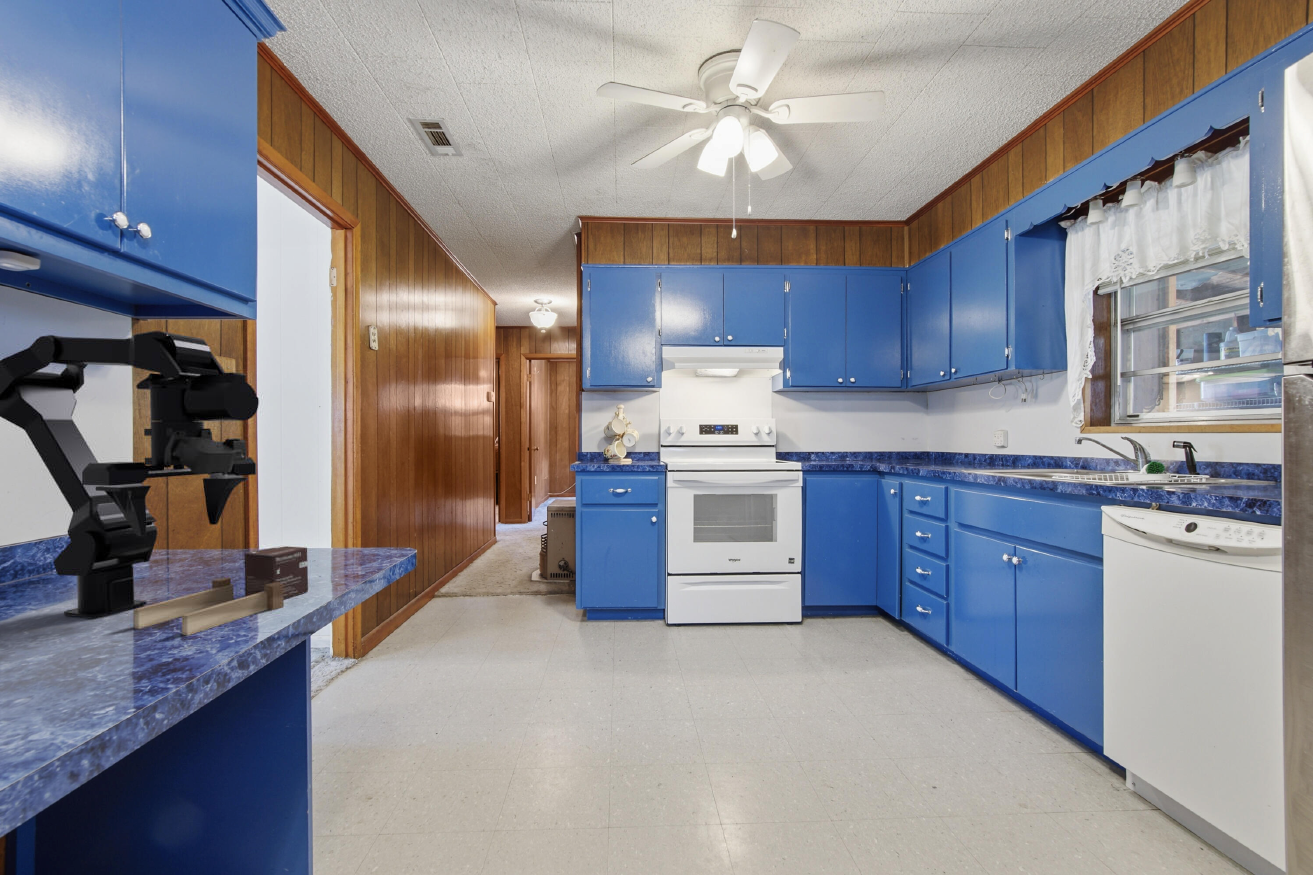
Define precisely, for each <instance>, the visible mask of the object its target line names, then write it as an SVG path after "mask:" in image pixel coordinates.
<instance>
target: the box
mask: <svg viewBox="0 0 1313 875" xmlns="http://www.w3.org/2000/svg"><path fill="white" fill-rule="evenodd" d="M308 569H309V568H308V547H306V546H305V547H304V546H302V547H301V546H285V545H283V546H275V547H271V548H263V549H260V550H255V551H249V552H246V553H244V593H245V594H244V597H246V596H250V595H253V594H257V593H260V592H263V591H265V585H267V584H271V583H275V582H276V583H283V599H284V600H287V599H289V598H293V597H295V596H299V595H302V594H306V593H308V592H309V576H308V575H309V574H308V573H309V571H308Z"/></svg>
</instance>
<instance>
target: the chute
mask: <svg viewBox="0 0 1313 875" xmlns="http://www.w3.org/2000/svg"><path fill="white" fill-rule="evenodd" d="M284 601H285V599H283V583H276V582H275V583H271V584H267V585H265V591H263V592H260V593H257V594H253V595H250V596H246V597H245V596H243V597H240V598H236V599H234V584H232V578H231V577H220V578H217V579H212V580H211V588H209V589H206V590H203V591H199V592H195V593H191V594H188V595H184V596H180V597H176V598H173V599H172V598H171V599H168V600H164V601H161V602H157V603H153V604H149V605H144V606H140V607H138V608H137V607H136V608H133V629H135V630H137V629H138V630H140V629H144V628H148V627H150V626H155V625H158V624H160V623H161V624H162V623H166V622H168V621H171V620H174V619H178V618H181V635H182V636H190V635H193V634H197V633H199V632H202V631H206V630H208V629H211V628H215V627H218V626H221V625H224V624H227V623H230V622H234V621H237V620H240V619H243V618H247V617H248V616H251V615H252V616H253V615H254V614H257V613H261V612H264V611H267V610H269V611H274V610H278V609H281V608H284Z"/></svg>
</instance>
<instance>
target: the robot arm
mask: <svg viewBox="0 0 1313 875" xmlns="http://www.w3.org/2000/svg"><path fill="white" fill-rule="evenodd" d="M50 364H57V365H58V364H60V365H66V367H65V368H64V369H63V370H62V372H61V373H55V372H48V371H47V372H46V371H40V370H43V369H45V368H47V367H49V365H50ZM89 365H91V366H92V365H94V366H95V365H96V366H99V365H100V366H120V367H123V366H124V367H133V368H136V369H140V370H144V371H148V372H151V373H149V375H148V376H147V377H146V378H144V379H143V380H141V381H139V382H138V383H137V384H136V386H135V387H136V389H137V390H146V391H149V393H150V396H149V397H150V400H149V401H150V402H149V403H150V407H149V408H150V428H144V429H143V430H144V431H143V432H144V433H143V434H144V435H143V436H144V437H145V436H146V437H150V457H144V462H143V461H114V462H109V461H108V462H98V460H97V458H96V456H95V455H94V452H93V451H92V450H91V448H90V446H89V445H88V443H87V441H86V440H85V438H84V436H83V435H82V433H81V432H80V430H79V428H78V427H77V425H76V423H75V422H74V420H73V414H74V411H75V409H76V406H77V401H78V400H77V398H76V396H75V394H76V393H77V392H78V391H79V390H80V389H81V388H82V387H83V386H84V384H85V371H84V370H85V369H86V367H88V366H89ZM246 377H247V376H246V374H245V373H239V372H226V371H225V370H224V368H223V367H222V366H221V364H220V362H218V360H217V358H216V357H215V355H214V354H213V353H212V351H211V348H210V347H209V344H208V343H207V341H206V340H205V339H202V338H198V337H193V336H188V335H182V334H176V333H172V332H166V331H159V330H153V331H152V330H151V331H145V332H140V333H135V334H133V335H132V336H131V337H128V338H111V337H110V338H106V337H78V336H77V337H71V336H70V337H69V336H62V335H61V336H59V335H53V334H50V335H49V334H48V335H43V336H39V337H38V338H37V339H36V340H34V342H33V343H32V344H30V346H29V347H27V348H25V349H22V350H21V351H18V352H16V353H14V354H11V355H9V356H7V357H4V358H2V359H1V360H0V418H2V419H3V420H4V421H8V422H9V423H11V424H13V425H15V426H16V427H18V428H20V429H22V430H24V431H25V432H24V433H26V435H27V436H28V438H29V440H30V442H31V443H32V445H33V446H34V448H35V450H36V452H37V453H38V456H40V458H41V460H42V462H43V463H44V465H45V467H46V469H47V470H48V472H49V473H50V476H51V477H52V479H53V481H54V482H55V483H56V485H57V487H58V488H59V490H60V493H61V494H62V495H63V497H64V499H65V500H66V502H67V504H68V506H69V507H70V509H71V511H72V516H71V517H70V522H69V525H68V528H67V535H68V537H69V540H70V542H68V544H67V545H66V547H65V548H64V549H63V550H62V551H61V552H60V553H59V554H58V555H57V557H56V558H54V559H53V565H54V568H55V571H56V573H57V574H56V575H57V576H71V577H73V576H76V577H77V578H76V583H77V584H76V587H77V607H76V608H71V609H68V610H65V611H63V615H65V616H72V617H78V618H89V619H94V618H99V617H103V616H104V617H105V616H107V615H110V614H115V613H119V612H122V611H127V610H131V609H135V608H137V607H138V608H139V607H143V606H147V601H146V600H140V599H135V578H134V575H135V574H134V565H136V564H140V563H146V562H147V563H148V562H150V560H151V556H152V553H153V550H154V547H155V544H156V541H157V538H158V530H157V526H156V524H155V522H157V519H156V518H155V517H153V515H151V513H150V511H149V509H148V507H147V504H146V497H147V495H148V493H149V491H150V489H151V487H152V485H144V484H143V483H144V482H145V481H146V480H147V479H156V478H157V479H158V478H168V477H169V478H170V477H172V478H173V477H183V476H198V475H199V476H201V475H209V477H204V478H202V483H203V484H202V486H203V491H204V497H205V499H204V501H205V508H206V515H207V520H208V522H209V525H212V526H216V525H218V523H219V521H220V519H221V516H222V514H223V512H224V510H225V507H226V505H227V502H228V501H229V498H230V496H231V495H232V492H233V490H234V489H235V488H236V487H237V486H239V485H240V484H241V483H242V482H246V481H248V479H249V477H248V476H254V475H257V463H256V462H255V460H254V459H253V458H252V457H251V456H247V444H246V440H244V439H241V438H226V439H225V440H224V441H215V440H213V433H212V432H213V431H212V430H211V428H205V422H235V421H236V422H237V421H238V422H241V421H242V422H244V421H248V420H250V419H251V418H252V417H254V416H255V415H256V413H257V411H258V409H259V403H260V402H259V401H260V400H259V397H258V396H257V392H256V391H255V389H254V388H253V387H252V386H251V385H250V384H249V383H248V382H246V380H247V379H246ZM171 466H172V468H171ZM246 476H247V477H246Z"/></svg>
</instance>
